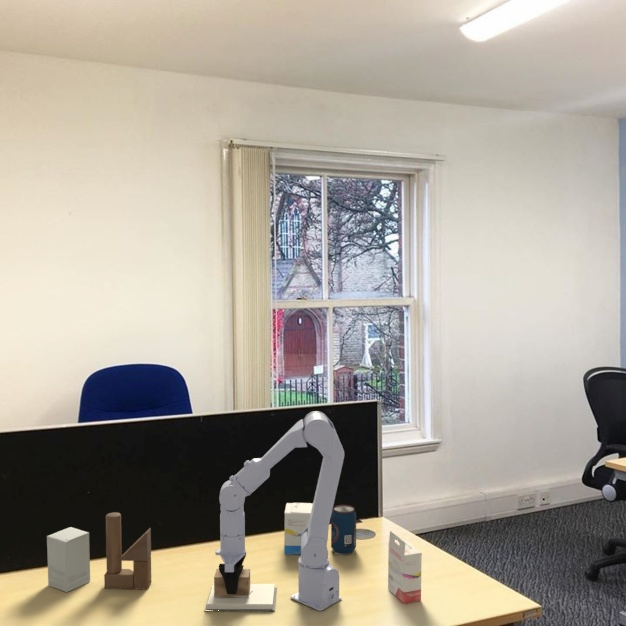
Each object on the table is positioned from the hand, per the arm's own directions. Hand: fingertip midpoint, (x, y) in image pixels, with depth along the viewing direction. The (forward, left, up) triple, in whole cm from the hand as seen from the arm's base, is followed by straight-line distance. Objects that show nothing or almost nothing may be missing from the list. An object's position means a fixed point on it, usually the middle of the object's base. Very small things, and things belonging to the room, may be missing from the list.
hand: (233, 588), depth 163 cm
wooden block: (+24, +13, -3) cm, 28 cm away
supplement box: (+36, +22, -3) cm, 42 cm away
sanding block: (0, 0, -1) cm, 1 cm away
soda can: (-2, -39, -3) cm, 40 cm away
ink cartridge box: (-29, -29, -3) cm, 41 cm away
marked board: (-2, -1, -3) cm, 4 cm away
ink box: (+8, -32, -3) cm, 34 cm away
